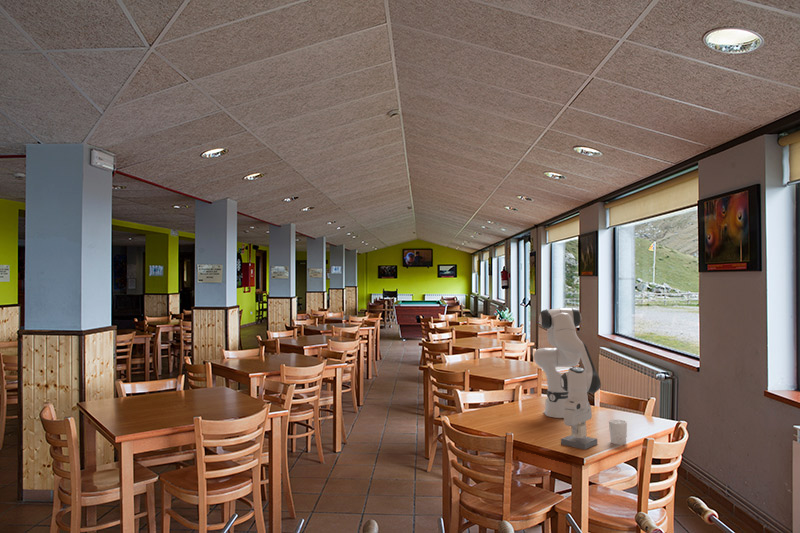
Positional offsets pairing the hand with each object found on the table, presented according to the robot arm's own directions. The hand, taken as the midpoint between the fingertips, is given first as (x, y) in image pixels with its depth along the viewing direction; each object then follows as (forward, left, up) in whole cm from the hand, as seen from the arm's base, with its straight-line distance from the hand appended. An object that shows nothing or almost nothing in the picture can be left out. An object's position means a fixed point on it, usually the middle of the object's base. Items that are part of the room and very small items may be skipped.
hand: (578, 432), depth 243 cm
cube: (0, 0, -2) cm, 2 cm away
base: (0, 0, -6) cm, 6 cm away
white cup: (-15, +12, -6) cm, 20 cm away
